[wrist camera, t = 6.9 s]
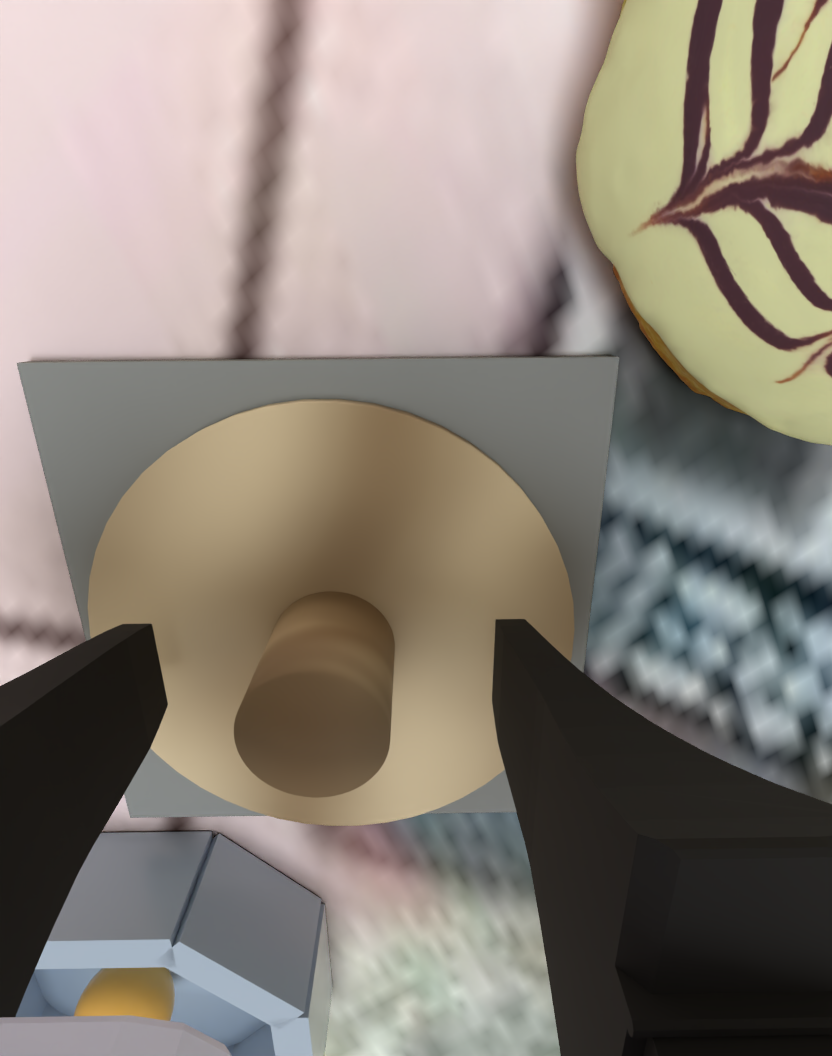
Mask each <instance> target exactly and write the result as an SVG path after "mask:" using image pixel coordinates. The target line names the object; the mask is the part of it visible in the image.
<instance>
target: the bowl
mask: <svg viewBox="0 0 832 1056" xmlns="http://www.w3.org/2000/svg"><path fill="white" fill-rule="evenodd" d="M331 995H332V975H331V965H330V954H329V944H328V933H327V922H326V912H325V904H321V899H320V898H319V897H317V896H316V895H314V894H313V893H311V892H310V891H308V890H306V889H305V888H303V887H302V886H300V885H299V884H297V883H296V882H294V881H292V880H291V879H289V878H288V877H286V876H285V875H283V874H282V873H280V872H278V871H277V870H275V869H274V868H272V867H271V866H269V865H268V864H266V863H264V862H263V861H261V860H260V859H258V858H257V857H255V856H254V855H252V854H250V853H249V852H247V851H246V850H244V849H243V848H241V847H239V846H238V845H236V844H235V843H233V842H232V841H230V840H229V839H227V838H225V837H224V836H222V835H221V834H218V835H217V836H215V837H214V838H213V837H212V832H211V831H194V832H125V833H100V835H99V837H98V839H97V840H96V842H95V844H94V845H93V847H92V849H91V851H90V852H89V854H88V856H87V858H86V860H85V862H84V864H83V866H82V867H81V869H80V871H79V873H78V875H77V877H76V879H75V881H74V884H73V886H72V888H71V890H70V892H69V894H68V897H67V899H66V901H65V903H64V905H63V907H62V909H61V912H60V914H59V916H58V918H57V920H56V922H55V924H54V927H53V929H52V931H51V934H50V936H49V938H48V940H47V943H46V945H45V947H44V950H43V952H42V954H41V957H40V959H39V961H38V964H37V966H36V968H35V971H34V973H33V975H32V977H31V980H30V982H29V984H28V987H27V989H26V992H25V994H24V997H23V999H22V1002H21V1004H20V1007H19V1009H18V1012H17V1014H16V1017H62V1016H124V1015H131V1016H138V1017H145V1018H152V1019H159V1020H166V1021H173V1022H180V1023H184V1024H186V1025H188V1026H190V1027H192V1028H194V1029H196V1030H198V1031H200V1032H201V1033H203V1034H205V1035H207V1036H209V1037H211V1038H213V1039H215V1040H217V1041H219V1042H221V1043H222V1044H224V1045H225V1046H226V1047H227V1049H228V1050H229V1052H230V1054H231V1055H232V1056H325V1047H326V1038H327V1030H328V1021H329V1012H330V1004H331Z"/></svg>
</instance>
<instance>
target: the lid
mask: <svg viewBox="0 0 832 1056" xmlns="http://www.w3.org/2000/svg"><path fill="white" fill-rule="evenodd" d="M88 617H89V628H90V636H91V638H93V637H95V636H97V635H99V634H101V633H103V632H105V631H107V630H109V629H112V628H114V627H116V626H119V625H121V624H152V626H153V631H154V636H155V641H156V646H157V651H158V656H159V661H160V666H161V671H162V676H163V681H164V686H165V692H166V697H167V702H168V706H167V709H166V711H165V714H164V716H163V719H162V721H161V724H160V727H159V729H158V731H157V734H156V736H155V738H154V741H153V743H152V745H151V749H152V750H153V751H154V752H155V753H156V754H157V755H158V756H159V757H160V758H161V759H163V760H164V761H165V762H166V763H167V764H169V765H170V766H171V767H172V768H173V769H174V770H176V771H177V772H178V773H180V774H181V775H183V776H184V777H186V778H187V779H189V780H190V781H192V782H193V783H195V784H196V785H198V786H199V787H201V788H203V789H205V790H206V791H208V792H210V793H212V794H214V795H216V796H218V797H220V798H222V799H224V800H226V801H228V802H231V803H233V804H236V805H238V806H241V807H243V808H246V809H248V810H251V811H254V812H257V813H261V814H264V815H268V816H271V817H275V818H278V819H284V820H289V821H294V822H300V823H306V824H317V825H329V826H358V825H368V824H377V823H387V822H391V821H396V820H401V819H405V818H410V817H414V816H417V815H420V814H423V813H426V812H429V811H432V810H436V809H439V808H441V807H443V806H445V805H447V804H450V803H452V802H454V801H456V800H459V799H461V798H463V797H465V796H466V795H468V794H470V793H471V792H473V791H475V790H477V789H478V788H480V787H482V786H483V785H485V784H486V783H488V782H489V781H490V780H492V779H493V778H494V777H496V776H497V775H498V774H500V773H501V772H502V771H504V770H505V768H504V764H503V760H502V757H501V753H500V749H499V745H498V740H497V734H496V727H495V720H494V713H493V705H492V685H493V664H494V643H495V621H496V619H525V620H526V621H527V622H529V623H530V624H531V625H532V626H533V627H534V628H535V629H536V630H537V631H538V632H539V633H540V634H541V635H542V636H543V637H544V638H545V639H546V640H547V641H548V642H549V643H550V644H551V645H552V646H554V647H555V648H556V649H557V650H558V651H559V652H560V653H561V654H562V655H563V656H564V657H565V658H567V659H568V660H569V661H570V662H571V658H572V649H573V640H574V630H575V629H574V607H573V598H572V593H571V588H570V583H569V578H568V573H567V571H566V568H565V565H564V562H563V560H562V557H561V554H560V551H559V548H558V546H557V544H556V542H555V540H554V538H553V536H552V535H551V533H550V531H549V529H548V527H547V525H546V523H545V522H544V520H543V518H542V516H541V515H540V513H539V512H538V510H537V509H536V507H535V506H534V505H533V503H532V502H531V501H530V499H529V498H528V497H527V495H526V494H525V493H524V491H523V490H522V489H521V487H520V486H519V485H518V484H517V483H516V482H515V481H514V480H513V479H512V478H511V477H510V476H509V475H508V474H507V473H506V472H505V470H504V469H503V468H502V467H501V466H500V465H499V464H498V463H497V462H495V461H494V460H493V459H491V458H490V457H489V456H488V455H486V454H485V453H484V452H482V451H481V450H480V449H478V448H477V447H476V446H475V445H473V444H472V443H471V442H469V441H467V440H466V439H464V438H462V437H460V436H459V435H457V434H455V433H453V432H452V431H450V430H448V429H446V428H445V427H443V426H441V425H439V424H436V423H434V422H431V421H429V420H426V419H424V418H422V417H419V416H417V415H414V414H412V413H409V412H406V411H402V410H398V409H394V408H391V407H387V406H383V405H379V404H375V403H368V402H360V401H352V400H344V399H302V400H295V401H288V402H281V403H274V404H268V405H265V406H261V407H258V408H254V409H251V410H247V411H244V412H240V413H237V414H235V415H232V416H230V417H228V418H226V419H223V420H221V421H219V422H217V423H214V424H212V425H210V426H208V427H206V428H204V429H202V430H200V431H198V432H196V433H195V434H193V435H192V436H190V437H189V438H187V439H185V440H184V441H182V442H181V443H179V444H178V445H176V446H174V447H173V448H171V449H170V450H168V451H167V452H166V453H164V454H163V455H162V456H161V457H160V458H159V459H158V460H156V461H155V462H154V463H153V464H152V465H151V466H150V467H148V468H147V469H146V470H145V471H144V472H143V473H142V474H141V475H140V476H139V478H138V479H137V480H136V481H135V482H134V483H133V485H132V486H131V487H130V488H129V489H128V491H127V492H126V493H125V494H124V495H123V497H122V498H121V500H120V502H119V503H118V505H117V507H116V508H115V510H114V512H113V513H112V515H111V517H110V518H109V520H108V522H107V523H106V526H105V528H104V531H103V533H102V536H101V538H100V541H99V543H98V546H97V548H96V551H95V556H94V560H93V565H92V569H91V574H90V578H89V593H88Z"/></svg>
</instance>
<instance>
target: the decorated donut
mask: <svg viewBox="0 0 832 1056" xmlns="http://www.w3.org/2000/svg"><path fill="white" fill-rule="evenodd" d="M576 170H577V184H578V191H579V197H580V201H581V205H582V209H583V212H584V215H585V218H586V221H587V224H588V226H589V228H590V231H591V233H592V236H593V238H594V240H595V243H596V245H597V247H598V248H599V249H600V251H601V252H602V253H603V254H604V255H605V257H607V258H608V259H609V260H610V261H611V262H612V263H613V272H614V275H615V277H616V278H617V280H618V281H619V283H620V288H621V290H622V292H623V294H624V296H625V299H626V301H627V303H628V305H629V307H630V309H631V311H632V313H633V314H634V315H635V317H636V319H637V320H638V321H639V325H640V329H641V331H642V332H643V333H644V334H645V336H646V337H647V339H648V340H649V342H650V343H651V345H652V347H653V348H654V349H655V350H656V351H657V353H658V354H659V355H660V357H661V358H662V359H663V360H664V361H665V362H666V363H667V365H668V366H669V367H670V368H671V369H672V370H673V371H674V372H675V373H676V374H677V375H678V376H679V378H680V379H681V380H682V381H683V382H684V383H685V384H686V385H687V386H688V387H689V388H690V389H691V390H692V391H694V392H695V393H698V394H702V395H706V396H709V397H711V398H712V399H713V400H714V401H716V402H717V403H719V404H720V405H722V406H724V407H725V408H729V409H731V410H734V411H737V412H740V413H744V414H746V415H749V416H751V417H752V418H754V419H755V420H757V421H758V422H760V423H761V424H763V425H764V426H766V427H767V428H769V429H771V430H774V431H777V432H780V433H782V434H785V435H787V436H791V437H794V438H797V439H801V440H804V441H807V442H811V443H818V444H825V445H832V0H624V2H623V4H622V9H621V13H620V18H619V20H618V22H617V25H616V27H615V30H614V32H613V35H612V38H611V41H610V44H609V47H608V51H607V54H606V58H605V60H604V63H603V65H602V68H601V70H600V72H599V74H598V76H597V79H596V81H595V83H594V86H593V88H592V90H591V93H590V96H589V98H588V102H587V105H586V108H585V113H584V120H583V127H582V132H581V136H580V140H579V144H578V147H577V151H576Z"/></svg>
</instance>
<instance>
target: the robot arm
mask: <svg viewBox="0 0 832 1056" xmlns="http://www.w3.org/2000/svg"><path fill="white" fill-rule="evenodd" d="M492 705H493V713H494V720H495V727H496V734H497V740H498V745H499V749H500V753H501V757H502V760H503V764H504V768H505V771H506V775H507V779H508V782H509V786H510V790H511V793H512V797H513V801H514V804H515V808H516V811H517V815H518V819H519V822H520V826H521V830H522V833H523V837H524V841H525V845H526V849H527V853H528V858H529V862H530V866H531V872H532V878H533V884H534V889H535V895H536V901H537V907H538V912H539V918H540V924H541V930H542V937H543V943H544V949H545V955H546V961H547V967H548V974H549V980H550V986H551V993H552V1000H553V1006H554V1013H555V1019H556V1026H557V1033H558V1039H559V1046H560V1053H561V1056H832V804H829V803H826V802H824V801H821V800H818V799H816V798H813V797H810V796H807V795H805V794H802V793H799V792H796V791H794V790H791V789H788V788H786V787H783V786H780V785H777V784H775V783H772V782H770V781H768V780H765V779H763V778H761V777H758V776H756V775H754V774H752V773H749V772H747V771H745V770H742V769H740V768H738V767H736V766H733V765H731V764H729V763H727V762H725V761H723V760H721V759H719V758H716V757H714V756H712V755H710V754H708V753H706V752H704V751H702V750H700V749H698V748H697V747H695V746H693V745H691V744H689V743H687V742H685V741H684V740H682V739H680V738H678V737H676V736H674V735H672V734H671V733H669V732H667V731H666V730H664V729H662V728H660V727H659V726H657V725H655V724H654V723H652V722H651V721H649V720H647V719H646V718H644V717H643V716H641V715H640V714H638V713H637V712H635V711H634V710H632V709H630V708H629V707H627V706H626V705H624V704H623V703H622V702H620V701H619V700H617V699H616V698H615V697H613V696H612V695H611V694H609V693H608V692H607V691H605V690H604V689H603V688H602V687H600V686H599V685H598V684H596V683H595V682H594V681H592V680H591V679H590V678H589V677H588V676H586V675H585V674H584V673H583V672H582V671H580V670H579V669H578V668H577V667H576V666H574V665H573V664H572V663H571V662H570V661H569V660H568V659H567V658H565V657H564V656H563V655H562V654H561V653H560V652H559V651H558V650H557V649H556V648H555V647H554V646H552V645H551V644H550V643H549V642H548V641H547V640H546V639H545V638H544V637H543V636H542V635H541V634H540V633H539V632H538V631H537V630H536V629H535V628H534V627H533V626H532V625H531V624H530V623H529V622H527V621H526V620H525V619H496V621H495V643H494V664H493V685H492ZM167 706H168V702H167V697H166V692H165V686H164V681H163V676H162V671H161V666H160V661H159V656H158V651H157V646H156V641H155V636H154V631H153V626H152V624H121V625H119V626H116V627H114V628H112V629H109V630H107V631H105V632H103V633H101V634H99V635H97V636H95V637H93V638H91V639H89V640H87V641H85V642H84V643H82V644H80V645H78V646H76V647H74V648H72V649H70V650H69V651H67V652H65V653H63V654H61V655H59V656H57V657H56V658H54V659H52V660H50V661H48V662H46V663H44V664H42V665H41V666H39V667H37V668H35V669H33V670H31V671H29V672H27V673H26V674H24V675H22V676H20V677H18V678H16V679H14V680H12V681H10V682H8V683H6V684H4V685H2V686H0V1056H232V1055H231V1054H230V1052H229V1050H228V1049H227V1047H226V1046H225V1045H224V1044H222V1043H221V1042H219V1041H217V1040H215V1039H213V1038H211V1037H209V1036H207V1035H205V1034H203V1033H201V1032H200V1031H198V1030H196V1029H194V1028H192V1027H190V1026H188V1025H186V1024H184V1023H180V1022H173V1021H166V1020H159V1019H152V1018H145V1017H138V1016H131V1015H124V1016H62V1017H16V1014H17V1012H18V1009H19V1007H20V1004H21V1002H22V999H23V997H24V994H25V992H26V989H27V987H28V984H29V982H30V980H31V977H32V975H33V973H34V971H35V968H36V966H37V964H38V961H39V959H40V957H41V954H42V952H43V950H44V947H45V945H46V943H47V940H48V938H49V936H50V934H51V931H52V929H53V927H54V924H55V922H56V920H57V918H58V916H59V914H60V912H61V909H62V907H63V905H64V903H65V901H66V899H67V897H68V894H69V892H70V890H71V888H72V886H73V884H74V881H75V879H76V877H77V875H78V873H79V871H80V869H81V867H82V866H83V864H84V862H85V860H86V858H87V856H88V854H89V852H90V851H91V849H92V847H93V845H94V844H95V842H96V840H97V839H98V837H99V835H100V833H101V832H102V830H103V828H104V827H105V825H106V823H107V822H108V820H109V818H110V817H111V815H112V813H113V811H114V810H115V808H116V806H117V805H118V803H119V801H120V800H121V798H122V796H123V795H124V793H125V791H126V789H127V788H128V786H129V784H130V783H131V781H132V779H133V777H134V776H135V774H136V772H137V771H138V769H139V767H140V765H141V764H142V762H143V760H144V758H145V757H146V755H147V753H148V751H149V749H150V748H151V745H152V743H153V741H154V738H155V736H156V734H157V731H158V729H159V727H160V724H161V721H162V719H163V716H164V714H165V711H166V709H167Z"/></svg>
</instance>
